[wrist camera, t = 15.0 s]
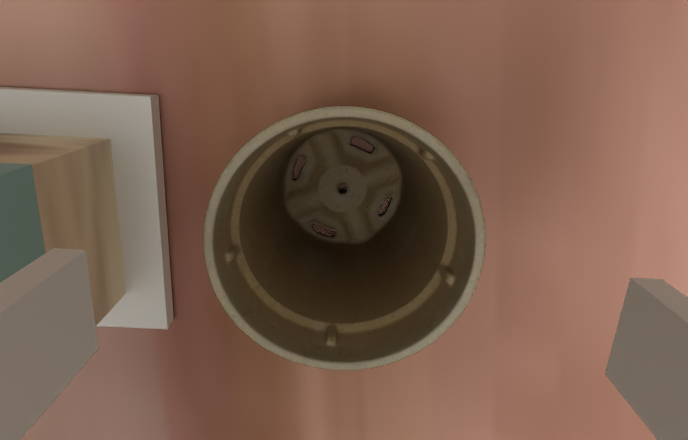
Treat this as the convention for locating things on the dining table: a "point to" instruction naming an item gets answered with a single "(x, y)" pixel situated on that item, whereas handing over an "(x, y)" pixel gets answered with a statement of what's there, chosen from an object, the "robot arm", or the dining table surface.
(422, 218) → the flower pot
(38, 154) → the beech block
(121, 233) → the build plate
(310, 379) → the dining table surface
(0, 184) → the teal block
